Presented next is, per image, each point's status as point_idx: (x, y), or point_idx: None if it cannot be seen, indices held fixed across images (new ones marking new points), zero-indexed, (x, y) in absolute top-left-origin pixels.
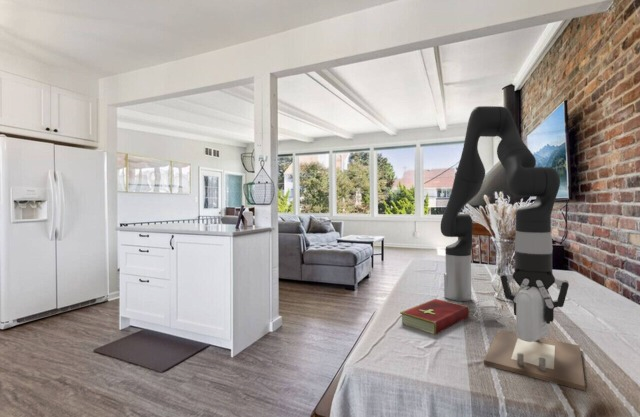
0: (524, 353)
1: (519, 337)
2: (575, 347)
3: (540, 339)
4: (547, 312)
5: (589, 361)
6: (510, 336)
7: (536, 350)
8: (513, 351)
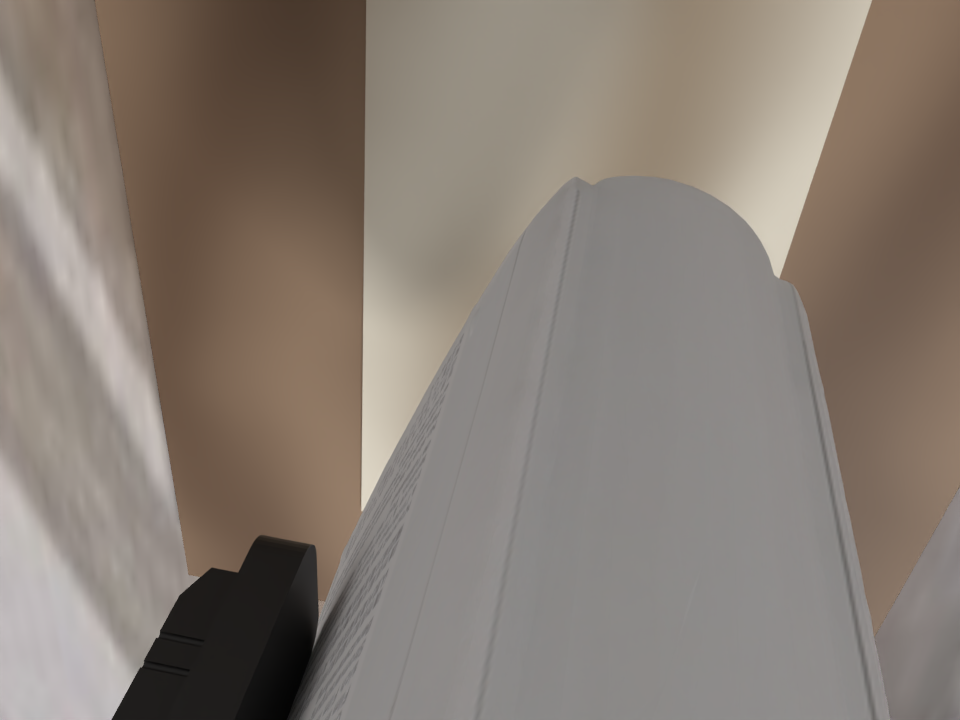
0: None
1: (762, 244)
2: (213, 533)
3: None
4: (211, 714)
5: (121, 366)
6: None
7: None
8: (795, 228)
